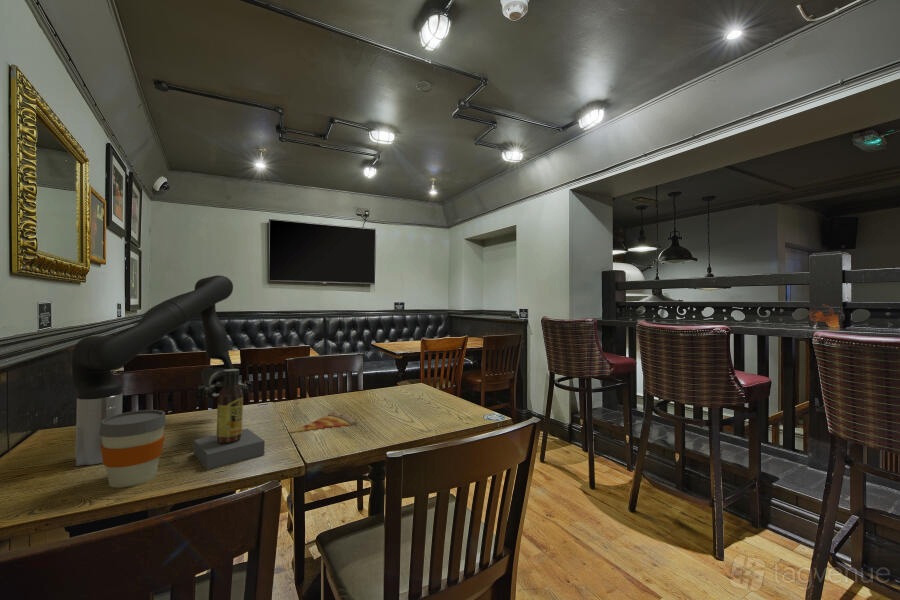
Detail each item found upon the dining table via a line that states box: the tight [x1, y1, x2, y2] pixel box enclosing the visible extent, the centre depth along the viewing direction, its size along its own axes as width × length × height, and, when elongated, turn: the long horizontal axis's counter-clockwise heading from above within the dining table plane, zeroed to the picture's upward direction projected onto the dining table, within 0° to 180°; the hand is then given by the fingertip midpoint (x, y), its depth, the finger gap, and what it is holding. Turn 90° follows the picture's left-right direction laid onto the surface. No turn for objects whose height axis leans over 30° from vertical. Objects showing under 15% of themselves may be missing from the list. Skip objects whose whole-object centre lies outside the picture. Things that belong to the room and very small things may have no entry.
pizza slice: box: [289, 411, 358, 434], centre depth 138 cm, size 16×22×2 cm
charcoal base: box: [193, 428, 265, 471], centre depth 109 cm, size 14×14×4 cm
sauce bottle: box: [216, 368, 244, 443], centre depth 109 cm, size 7×6×20 cm
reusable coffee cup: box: [99, 409, 167, 488], centre depth 94 cm, size 13×13×15 cm
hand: (228, 393), depth 112 cm, fingers open, 8 cm apart
